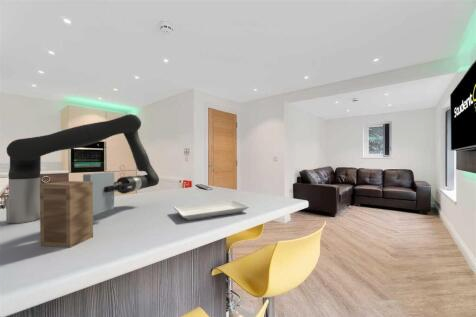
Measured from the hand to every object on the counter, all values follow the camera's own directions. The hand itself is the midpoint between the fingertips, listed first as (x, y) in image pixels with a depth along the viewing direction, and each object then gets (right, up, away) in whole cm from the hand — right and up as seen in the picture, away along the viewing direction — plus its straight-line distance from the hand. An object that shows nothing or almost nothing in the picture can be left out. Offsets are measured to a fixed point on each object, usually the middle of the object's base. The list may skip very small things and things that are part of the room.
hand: (100, 189), depth 84 cm
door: (0, -9, -1) cm, 9 cm away
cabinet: (+1, -13, -15) cm, 20 cm away
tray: (+42, -13, +15) cm, 46 cm away
